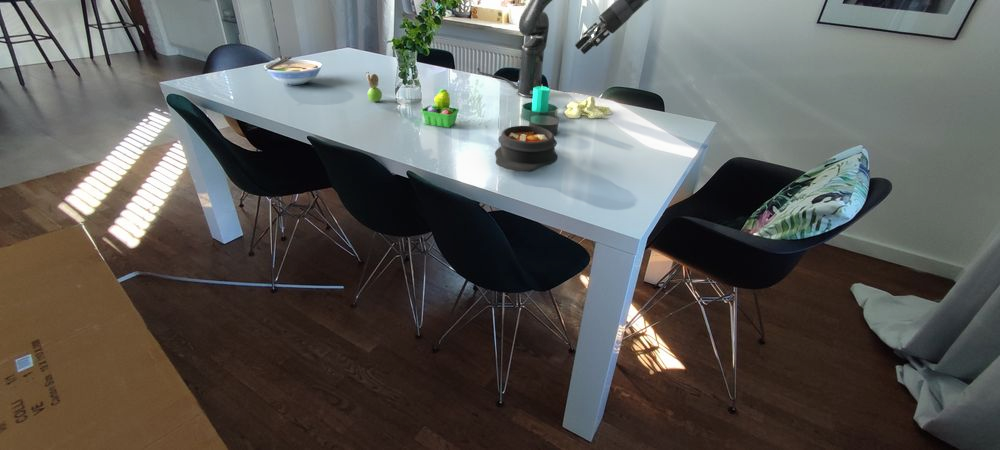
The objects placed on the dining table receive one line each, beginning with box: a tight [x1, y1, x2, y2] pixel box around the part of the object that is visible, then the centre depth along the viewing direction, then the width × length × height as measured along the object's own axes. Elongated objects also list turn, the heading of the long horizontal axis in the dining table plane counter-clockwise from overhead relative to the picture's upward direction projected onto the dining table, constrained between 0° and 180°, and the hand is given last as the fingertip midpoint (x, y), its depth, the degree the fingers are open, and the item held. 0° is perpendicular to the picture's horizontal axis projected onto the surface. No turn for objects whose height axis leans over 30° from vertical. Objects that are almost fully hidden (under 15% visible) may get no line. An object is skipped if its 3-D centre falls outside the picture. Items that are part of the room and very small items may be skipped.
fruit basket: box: [420, 88, 459, 128], centre depth 164 cm, size 11×9×11 cm
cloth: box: [564, 96, 612, 119], centre depth 185 cm, size 22×19×6 cm
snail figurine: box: [365, 71, 383, 103], centre depth 183 cm, size 5×6×12 cm
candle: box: [531, 85, 551, 112], centre depth 176 cm, size 6×6×12 cm
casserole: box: [494, 125, 559, 173], centre depth 139 cm, size 25×19×8 cm
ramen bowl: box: [263, 56, 323, 86], centre depth 203 cm, size 25×23×8 cm
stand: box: [528, 115, 560, 136], centre depth 164 cm, size 11×11×4 cm
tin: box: [521, 101, 559, 122], centre depth 178 cm, size 13×13×4 cm
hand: (579, 49), depth 167 cm, fingers open, 8 cm apart
